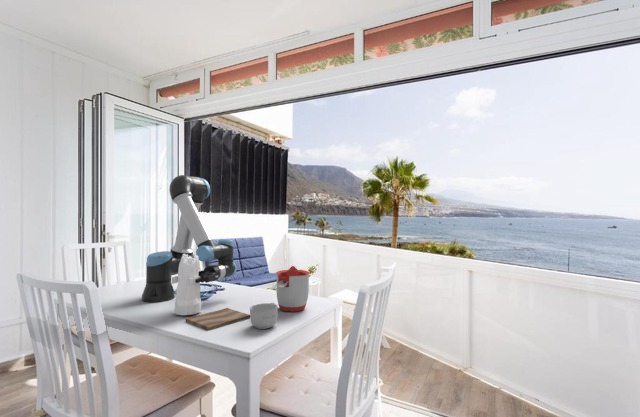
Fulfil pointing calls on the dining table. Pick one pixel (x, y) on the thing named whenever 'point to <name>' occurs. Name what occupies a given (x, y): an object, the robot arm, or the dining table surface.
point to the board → (217, 318)
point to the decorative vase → (187, 287)
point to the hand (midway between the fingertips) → (180, 281)
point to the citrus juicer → (292, 289)
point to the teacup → (263, 315)
